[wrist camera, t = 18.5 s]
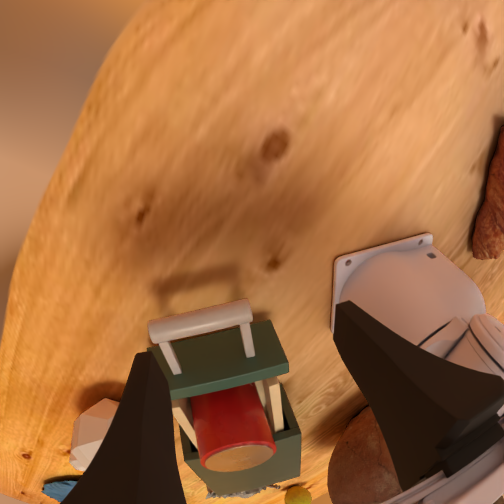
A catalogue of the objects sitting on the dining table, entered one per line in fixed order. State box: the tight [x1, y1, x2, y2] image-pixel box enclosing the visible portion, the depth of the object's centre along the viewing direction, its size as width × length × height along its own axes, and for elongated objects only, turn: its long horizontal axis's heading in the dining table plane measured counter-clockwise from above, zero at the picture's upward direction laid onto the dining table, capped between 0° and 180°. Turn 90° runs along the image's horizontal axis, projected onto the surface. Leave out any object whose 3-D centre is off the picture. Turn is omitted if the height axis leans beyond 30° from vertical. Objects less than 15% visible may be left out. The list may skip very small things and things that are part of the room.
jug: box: [327, 406, 504, 504], centre depth 28 cm, size 22×22×30 cm
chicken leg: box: [69, 398, 120, 471], centre depth 25 cm, size 8×18×8 cm, turn 142°
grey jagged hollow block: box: [206, 484, 280, 499], centre depth 41 cm, size 11×8×4 cm
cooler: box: [179, 383, 301, 496], centre depth 31 cm, size 15×11×6 cm
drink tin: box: [189, 382, 277, 472], centre depth 22 cm, size 6×6×7 cm
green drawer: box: [147, 298, 289, 450], centre depth 23 cm, size 18×9×4 cm, turn 7°
